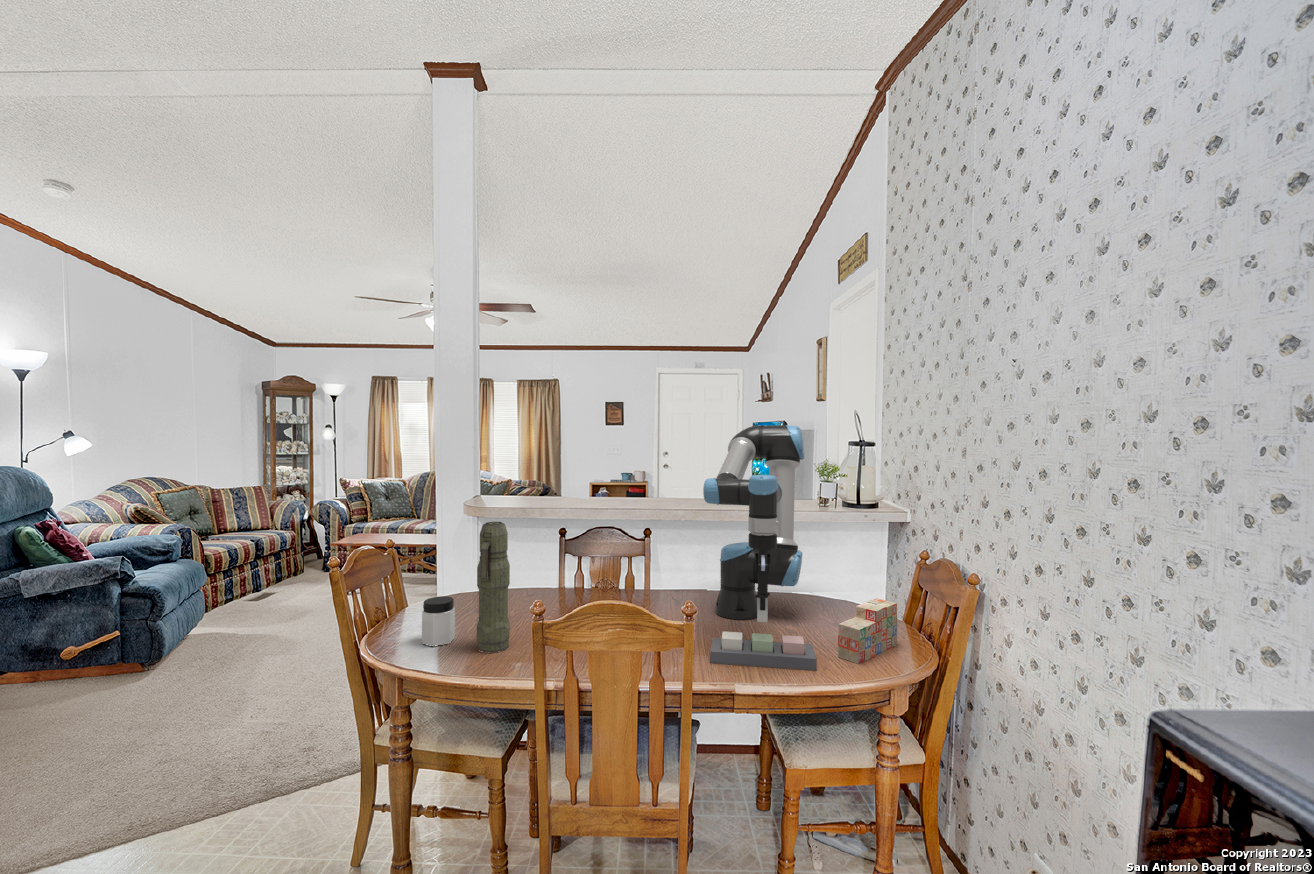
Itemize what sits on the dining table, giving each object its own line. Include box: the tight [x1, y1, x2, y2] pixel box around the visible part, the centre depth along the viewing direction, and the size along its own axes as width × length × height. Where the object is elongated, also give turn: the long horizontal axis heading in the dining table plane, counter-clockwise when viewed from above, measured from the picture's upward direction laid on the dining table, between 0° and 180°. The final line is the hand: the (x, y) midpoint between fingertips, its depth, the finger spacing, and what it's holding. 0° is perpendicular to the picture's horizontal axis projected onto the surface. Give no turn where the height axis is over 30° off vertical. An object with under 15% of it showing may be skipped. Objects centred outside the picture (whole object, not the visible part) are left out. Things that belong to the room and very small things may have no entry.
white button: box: [721, 630, 743, 651], centre depth 149 cm, size 5×5×4 cm
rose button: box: [781, 634, 805, 655], centre depth 147 cm, size 5×5×4 cm
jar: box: [421, 595, 456, 646], centre depth 159 cm, size 9×8×12 cm
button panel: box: [709, 637, 818, 672], centre depth 148 cm, size 27×10×3 cm, turn 80°
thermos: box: [476, 521, 511, 653], centre depth 155 cm, size 9×12×35 cm
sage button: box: [751, 632, 774, 653], centre depth 148 cm, size 5×5×4 cm
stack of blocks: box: [837, 598, 898, 664], centre depth 154 cm, size 21×6×12 cm, turn 131°
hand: (762, 620), depth 148 cm, fingers closed
